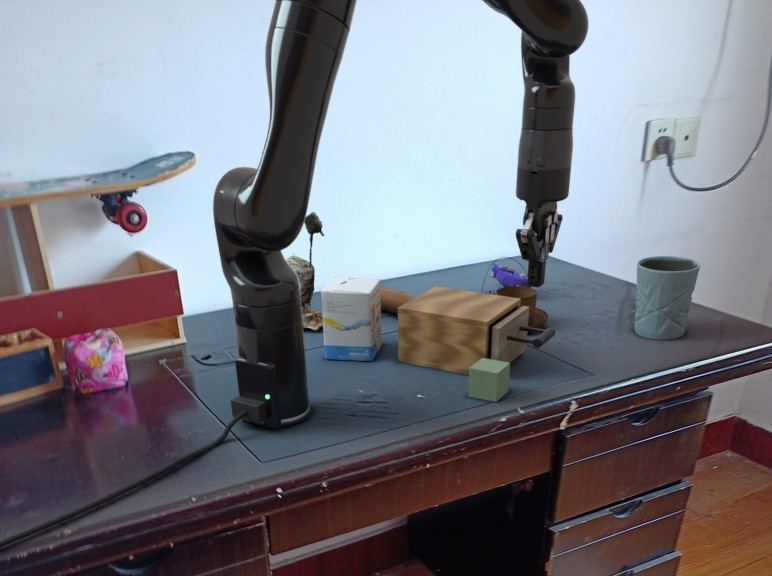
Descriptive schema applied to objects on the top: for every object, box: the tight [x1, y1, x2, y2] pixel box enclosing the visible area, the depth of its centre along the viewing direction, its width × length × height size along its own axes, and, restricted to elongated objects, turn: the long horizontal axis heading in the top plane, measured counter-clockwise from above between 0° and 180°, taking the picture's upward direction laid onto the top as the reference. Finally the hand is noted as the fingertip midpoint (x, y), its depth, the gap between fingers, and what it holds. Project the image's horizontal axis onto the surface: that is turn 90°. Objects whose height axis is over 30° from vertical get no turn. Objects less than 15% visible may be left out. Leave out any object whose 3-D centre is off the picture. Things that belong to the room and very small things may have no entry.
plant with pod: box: [285, 211, 325, 331], centre depth 149 cm, size 8×11×20 cm
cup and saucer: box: [495, 286, 549, 329], centre depth 150 cm, size 12×12×6 cm
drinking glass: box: [634, 255, 701, 341], centre depth 143 cm, size 10×10×12 cm
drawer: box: [488, 306, 557, 364], centre depth 134 cm, size 20×12×7 cm, turn 59°
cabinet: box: [397, 286, 521, 376], centre depth 136 cm, size 16×13×9 cm
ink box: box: [320, 276, 383, 362], centre depth 139 cm, size 9×8×12 cm
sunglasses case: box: [380, 285, 415, 315], centre depth 159 cm, size 18×7×7 cm
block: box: [467, 358, 511, 403], centre depth 124 cm, size 5×5×5 cm
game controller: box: [481, 256, 532, 294], centre depth 165 cm, size 10×8×10 cm
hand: (535, 285), depth 126 cm, fingers closed
